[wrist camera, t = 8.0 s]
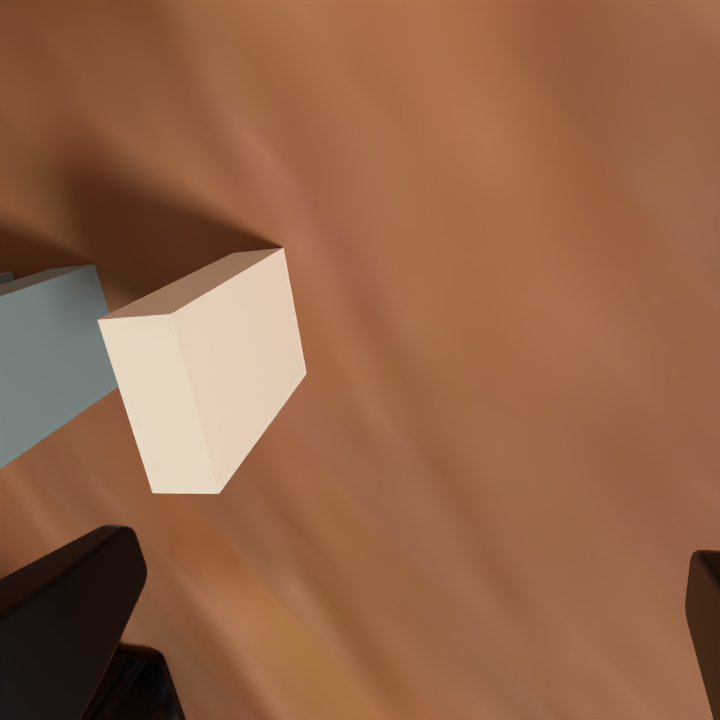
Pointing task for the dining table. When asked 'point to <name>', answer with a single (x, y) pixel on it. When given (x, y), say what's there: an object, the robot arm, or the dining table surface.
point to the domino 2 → (206, 367)
